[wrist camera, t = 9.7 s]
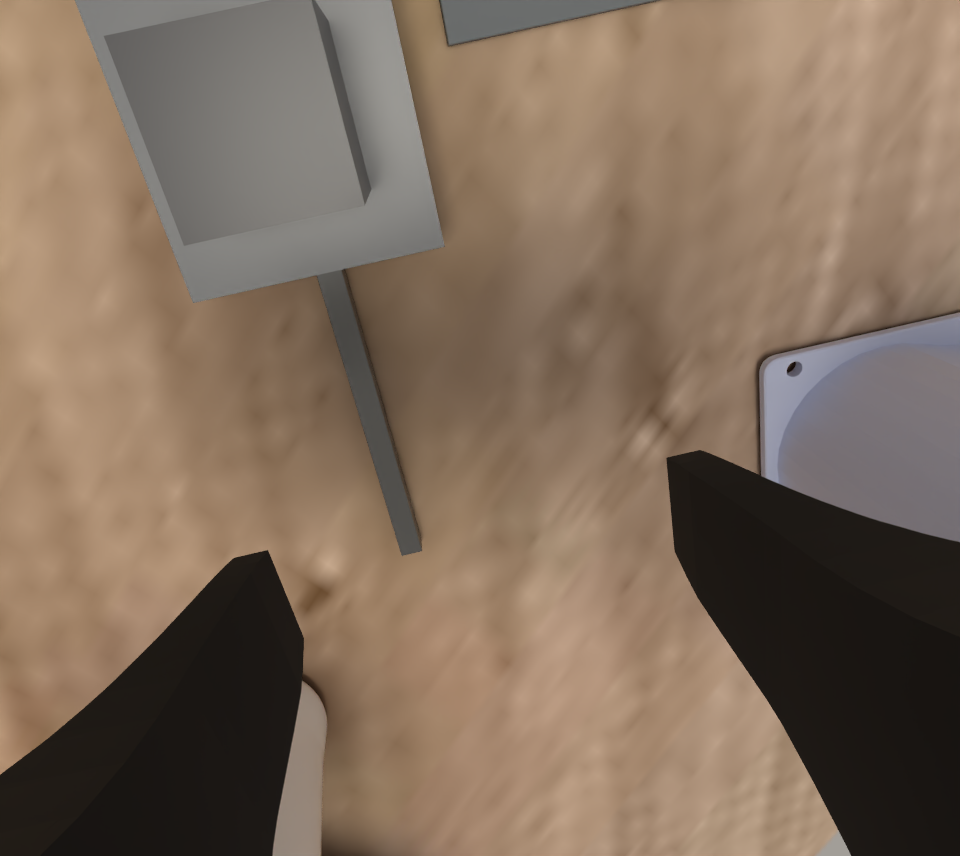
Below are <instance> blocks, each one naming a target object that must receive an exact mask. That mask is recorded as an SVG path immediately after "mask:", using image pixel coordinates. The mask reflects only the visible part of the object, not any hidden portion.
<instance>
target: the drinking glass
mask: <svg viewBox="0 0 960 856" xmlns="http://www.w3.org/2000/svg"><path fill="white" fill-rule="evenodd" d="M326 738H327V716H326V711H325V708H324V706H323V703H322V701H321V699H320V698H319V696H318V695H317V693H316V692H315V691H314V690H313V689H312V688H311V687H310V686H309V685H308V684H307V683H305V682H304V681H302V689H301V696H300V702H299V708H298V713H297V719H296V724H295V729H294V735H293V740H292V745H291V750H290V755H289V761H288V766H287V771H286V776H285V781H284V787H283V792H282V797H281V802H280V807H279V813H278V818H277V825H276V832H275V838H274V845H273V856H321V847H322V801H323V767H324V755H325V746H326Z"/></svg>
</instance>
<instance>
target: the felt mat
mask: <svg viewBox="0 0 960 856" xmlns="http://www.w3.org/2000/svg"><path fill="white" fill-rule="evenodd" d="M439 1H440V7H441V12H442V17H443V22H444V28H445V33H446V38H447V43H448V46H453V45H458V44H462V43H467V42H471V41H476V40H481V39H485V38H490V37H494V36H499V35H503V34H508V33H513V32H517V31H522V30H526V29H531V28H536V27H540V26H545V25H549V24H554V23H559V22H563V21H568V20H572V19H577V18H582V17H586V16H591V15H595V14H600V13H604V12H609V11H614V10H618V9H623V8H627V7H632V6H637V5H641V4H646V3H650V2H655V1H660V0H439Z"/></svg>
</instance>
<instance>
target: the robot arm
mask: <svg viewBox="0 0 960 856" xmlns="http://www.w3.org/2000/svg"><path fill="white" fill-rule="evenodd" d="M793 362H796V365H795V368H794V369H793V370H792V371H791V372H789V373H787V367H788V366H789V365H790V364H791V363H793ZM759 383H760V439H761V476H760V475H758V474H755V473H753V472H751V471H749V470H746V469H744V468H742V467H740V466H737V465H735V464H733V463H731V462H728V461H726V460H724V459H722V458H719V457H717V456H714V455H712V454H709V453H707V452H704V451H701V450H698V451H694V452H689V453H685V454H681V455H677V456H672V457H668V458H667V469H668V480H669V492H670V503H671V515H672V526H673V537H674V549H675V553H676V555H677V557H678V559H679V561H680V563H681V565H682V568H683V570H684V572H685V574H686V576H687V578H688V580H689V582H690V584H691V586H692V588H693V589H694V591H695V593H696V595H697V597H698V599H699V600H700V602H701V603H702V605H703V606H704V608H705V609H706V611H707V612H708V614H709V615H710V617H711V618H712V620H713V621H714V623H715V624H716V626H717V627H718V629H719V630H720V632H721V633H722V635H723V636H724V638H725V639H726V641H727V642H728V643H729V645H730V646H731V648H732V649H733V651H734V652H735V654H736V655H737V657H738V658H739V660H740V661H741V662H742V664H743V665H744V667H745V668H746V670H747V671H748V673H749V674H750V676H751V677H752V679H753V680H754V681H755V683H756V684H757V686H758V687H759V689H760V690H761V692H762V693H763V695H764V696H765V698H766V699H767V701H768V702H769V704H770V705H771V707H772V709H773V710H774V712H775V713H776V715H777V717H778V718H779V720H780V721H781V723H782V725H783V727H784V728H785V730H786V732H787V734H788V736H789V738H790V740H791V741H792V743H793V745H794V747H795V749H796V751H797V752H798V754H799V756H800V758H801V760H802V762H803V763H804V765H805V767H806V769H807V771H808V773H809V774H810V776H811V778H812V780H813V782H814V784H815V786H816V788H817V790H818V792H819V794H820V795H821V797H822V799H823V801H824V803H825V805H826V807H827V809H828V811H829V813H830V815H831V817H832V819H833V820H834V822H835V824H836V826H837V828H838V830H839V832H840V834H841V836H842V838H843V840H844V842H845V844H846V846H847V848H848V850H849V852H850V854H851V856H960V312H959V313H955V314H950V315H946V316H942V317H937V318H933V319H929V320H924V321H920V322H915V323H911V324H907V325H902V326H898V327H894V328H889V329H885V330H881V331H876V332H872V333H867V334H863V335H859V336H854V337H850V338H846V339H841V340H837V341H833V342H828V343H824V344H819V345H815V346H811V347H806V348H802V349H798V350H793V351H789V352H785V353H780V354H776V355H773V356H770V357H768V358H767V359H766V360H765V361H764V362H763V363H762V365H761V367H760V371H759ZM303 650H304V637H303V635H302V632H301V630H300V628H299V625H298V623H297V620H296V618H295V615H294V613H293V610H292V608H291V606H290V603H289V601H288V598H287V596H286V593H285V591H284V588H283V586H282V584H281V581H280V579H279V576H278V574H277V571H276V569H275V566H274V564H273V561H272V559H271V557H270V554H269V552H268V550H267V551H262V552H258V553H254V554H249V555H245V556H241V557H236V558H233V559H232V560H231V561H230V562H229V563H228V564H227V565H226V566H225V567H224V568H223V569H222V570H221V571H220V572H219V573H218V574H217V575H216V576H215V577H214V578H213V579H212V580H211V581H210V582H209V583H208V584H207V586H206V587H205V588H204V589H203V590H202V591H201V592H200V593H199V594H198V595H197V596H196V597H195V598H194V600H193V601H192V602H191V603H190V604H189V605H188V606H187V607H186V608H185V609H184V610H183V611H182V612H181V613H180V615H179V616H178V617H177V618H176V619H175V620H174V621H173V622H172V623H171V624H170V625H169V626H168V627H167V628H166V630H165V631H164V632H163V633H162V634H161V635H160V636H159V637H158V638H157V639H156V640H155V641H154V642H153V643H152V644H151V645H150V646H149V647H148V648H147V649H146V650H145V651H144V652H143V653H142V654H141V655H140V656H139V657H138V658H137V659H136V660H135V661H134V662H133V663H132V664H131V665H130V666H129V667H128V668H127V669H126V670H125V671H124V672H123V673H122V674H121V675H120V676H119V677H118V678H117V679H116V680H115V681H114V682H112V683H111V684H110V685H109V686H108V687H107V688H106V689H105V690H104V691H103V692H102V693H101V694H99V695H98V696H97V697H96V698H95V699H94V700H93V701H92V702H91V703H89V704H88V705H87V706H86V707H85V708H84V709H83V710H81V711H80V712H79V713H78V714H77V715H75V716H74V717H73V718H72V719H71V720H70V721H68V722H67V723H66V724H65V725H64V726H62V727H61V728H60V729H59V730H58V731H57V732H55V733H54V734H53V735H52V736H50V737H49V738H48V739H47V740H45V741H44V742H43V743H42V744H40V745H39V746H38V747H36V748H35V749H34V750H32V751H31V752H30V753H28V754H27V755H26V756H25V757H23V758H22V759H21V760H19V761H18V762H17V763H15V764H14V765H13V766H11V767H10V768H9V769H7V770H6V771H5V772H3V773H2V774H1V775H0V856H273V845H274V838H275V832H276V825H277V818H278V813H279V807H280V802H281V797H282V792H283V787H284V781H285V776H286V771H287V766H288V761H289V755H290V750H291V745H292V740H293V735H294V729H295V724H296V719H297V713H298V708H299V702H300V696H301V689H302V673H303Z"/></svg>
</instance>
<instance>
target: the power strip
mask: <svg viewBox="0 0 960 856" xmlns="http://www.w3.org/2000/svg"><path fill="white" fill-rule="evenodd" d="M75 2H76V4H77V7H78V10H79V12H80V15H81V17H82V20H83V22H84V25H85V27H86V30H87V33H88V35H89V38H90V40H91V43H92V45H93V48H94V50H95V53H96V56H97V58H98V61H99V63H100V66H101V68H102V71H103V74H104V76H105V79H106V81H107V84H108V86H109V89H110V91H111V94H112V97H113V99H114V102H115V104H116V107H117V109H118V112H119V114H120V117H121V120H122V122H123V125H124V127H125V130H126V132H127V135H128V137H129V140H130V143H131V145H132V148H133V150H134V153H135V155H136V158H137V160H138V163H139V166H140V168H141V171H142V173H143V176H144V178H145V181H146V183H147V186H148V189H149V191H150V194H151V196H152V199H153V201H154V204H155V206H156V209H157V212H158V214H159V217H160V219H161V222H162V224H163V227H164V229H165V232H166V235H167V237H168V240H169V242H170V245H171V247H172V250H173V253H174V255H175V258H176V260H177V263H178V265H179V268H180V270H181V273H182V276H183V278H184V281H185V283H186V286H187V288H188V291H189V293H190V296H191V299H192V301H193V303H195V302H200V301H204V300H209V299H213V298H217V297H222V296H226V295H231V294H235V293H240V292H244V291H249V290H253V289H258V288H262V287H267V286H271V285H276V284H280V283H284V282H289V281H293V280H298V279H302V278H307V277H311V276H316V275H317V278H318V282H319V285H320V288H321V291H322V295H323V298H324V301H325V305H326V308H327V311H328V314H329V318H330V321H331V324H332V328H333V331H334V334H335V337H336V341H337V344H338V347H339V351H340V354H341V357H342V360H343V364H344V367H345V370H346V374H347V377H348V380H349V383H350V387H351V390H352V393H353V397H354V400H355V403H356V407H357V410H358V413H359V416H360V420H361V423H362V426H363V430H364V433H365V436H366V439H367V443H368V446H369V449H370V453H371V456H372V459H373V462H374V466H375V469H376V472H377V476H378V479H379V482H380V485H381V489H382V492H383V495H384V499H385V502H386V505H387V508H388V512H389V515H390V518H391V522H392V525H393V528H394V531H395V535H396V538H397V541H398V545H399V548H400V551H401V555H402V556H403V555H407V554H411V553H416V552H420V551H422V543H421V537H420V533H419V530H418V526H417V523H416V519H415V516H414V512H413V509H412V505H411V502H410V498H409V495H408V491H407V488H406V484H405V480H404V477H403V473H402V470H401V466H400V463H399V459H398V456H397V452H396V449H395V445H394V442H393V438H392V435H391V431H390V428H389V424H388V421H387V417H386V414H385V410H384V407H383V403H382V400H381V396H380V393H379V389H378V386H377V382H376V379H375V375H374V372H373V368H372V365H371V361H370V358H369V354H368V351H367V347H366V344H365V340H364V337H363V333H362V330H361V326H360V323H359V319H358V316H357V312H356V309H355V305H354V302H353V298H352V294H351V291H350V287H349V284H348V280H347V277H346V273H345V270H344V269H347V268H351V267H356V266H360V265H365V264H369V263H374V262H378V261H383V260H387V259H392V258H396V257H401V256H405V255H410V254H414V253H419V252H423V251H427V250H432V249H436V248H441V247H445V246H444V241H443V237H442V232H441V227H440V223H439V218H438V214H437V209H436V204H435V200H434V195H433V190H432V186H431V181H430V177H429V172H428V167H427V163H426V158H425V154H424V149H423V144H422V140H421V135H420V131H419V126H418V121H417V117H416V112H415V108H414V103H413V98H412V94H411V89H410V84H409V80H408V75H407V71H406V66H405V61H404V57H403V52H402V48H401V43H400V38H399V34H398V29H397V25H396V20H395V15H394V11H393V6H392V2H391V0H75Z"/></svg>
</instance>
